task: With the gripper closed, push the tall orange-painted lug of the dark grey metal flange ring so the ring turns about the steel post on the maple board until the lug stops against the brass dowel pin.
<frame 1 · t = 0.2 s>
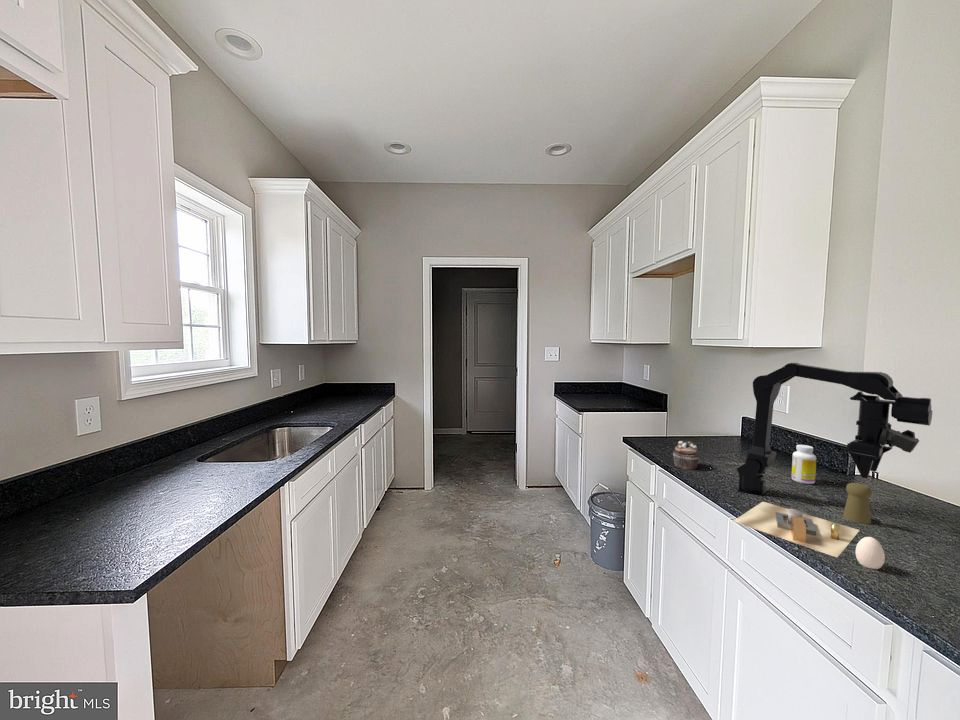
hand: (869, 474, 108), 15 cm above the counter, fingers open, 9 cm apart
dowel pin: (834, 538, 100), resting on board
egg: (868, 570, 89), on the counter
cupcake: (685, 466, 158), on the counter
cork: (856, 523, 111), on the counter
supplement bottle: (802, 481, 142), on the counter
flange: (797, 536, 101), point 1 cm above the counter, touching board
board: (794, 529, 107), on the counter
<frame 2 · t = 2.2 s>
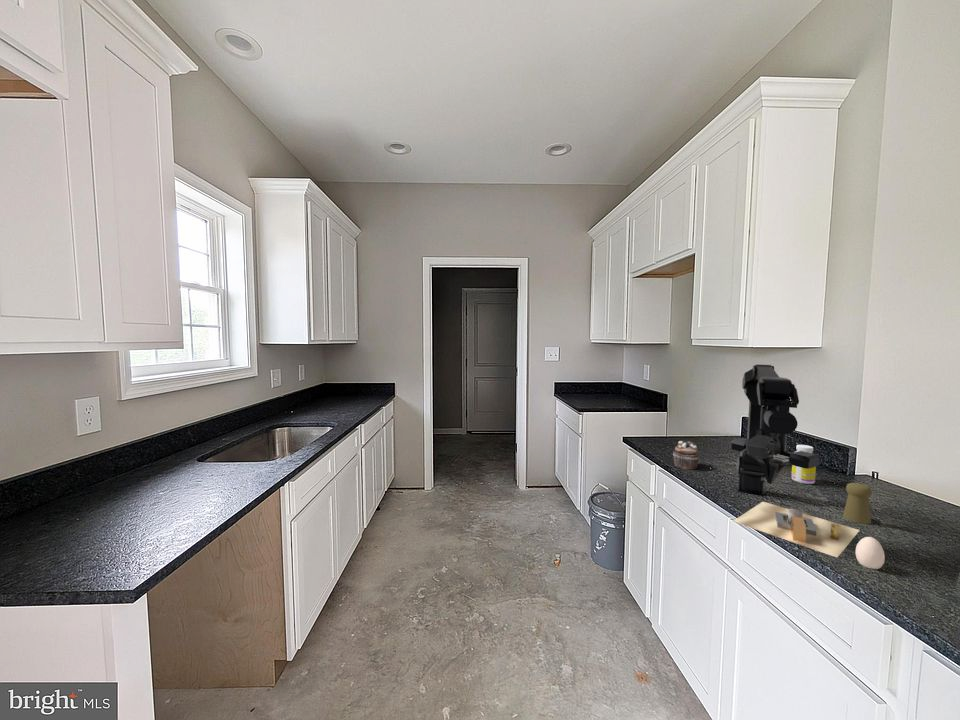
hand: (770, 483, 105), 13 cm above the counter, fingers closed
nothing on the counter moved.
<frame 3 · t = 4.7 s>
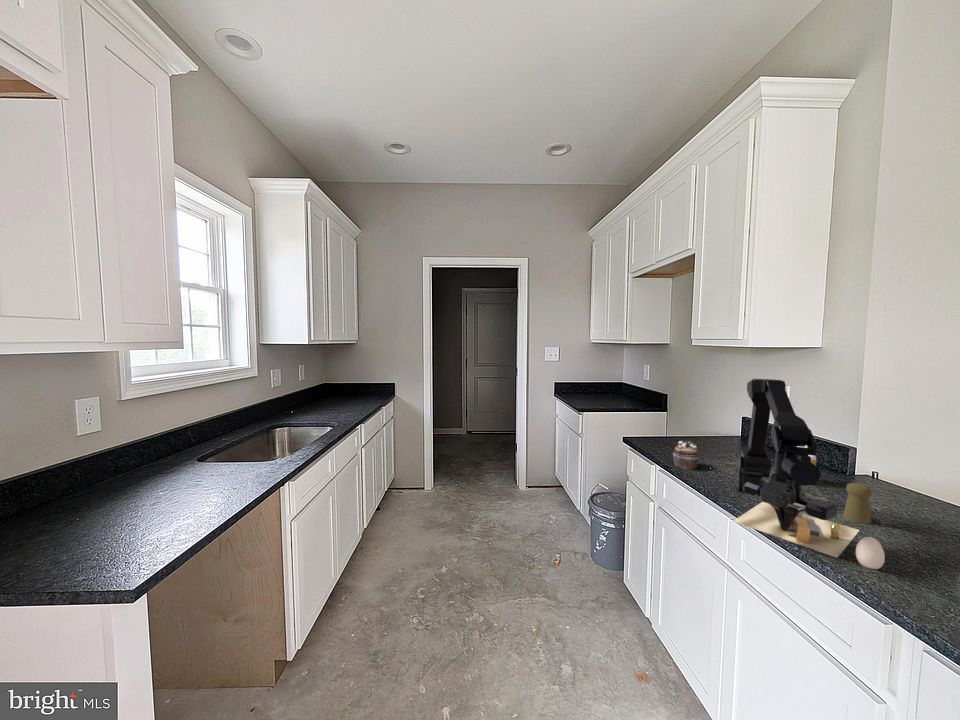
hand: (784, 530, 102), 2 cm above the counter, fingers closed
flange: (800, 537, 100), point 1 cm above the counter, touching gripper
everything else where it was.
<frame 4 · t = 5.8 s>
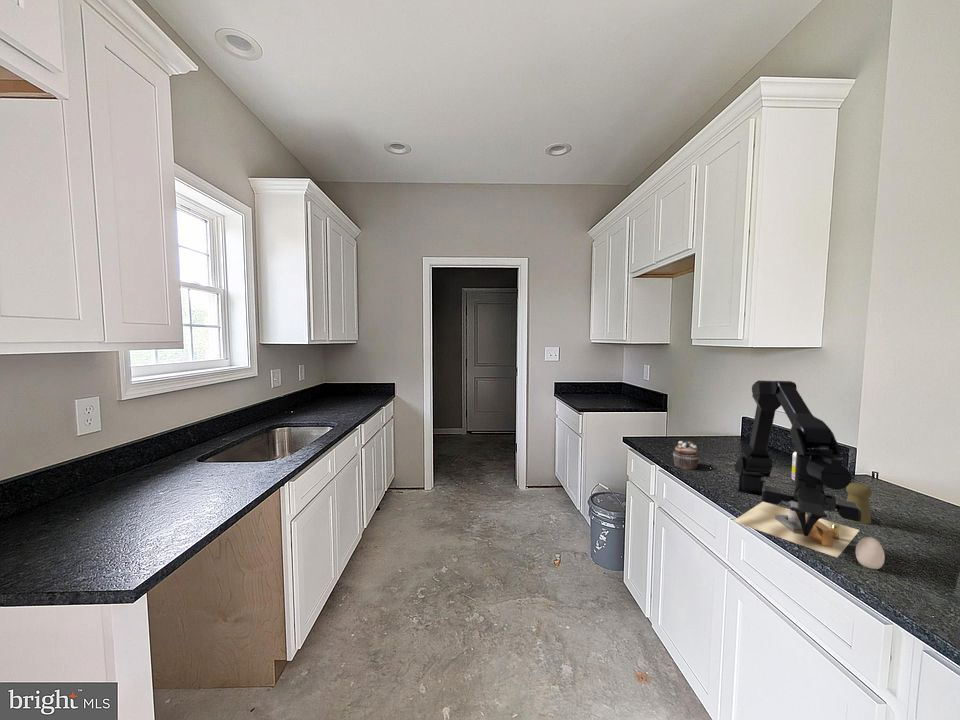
hand: (805, 535, 99), 2 cm above the counter, fingers closed
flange: (818, 539, 99), point 1 cm above the counter, touching board, gripper
everything else where it was.
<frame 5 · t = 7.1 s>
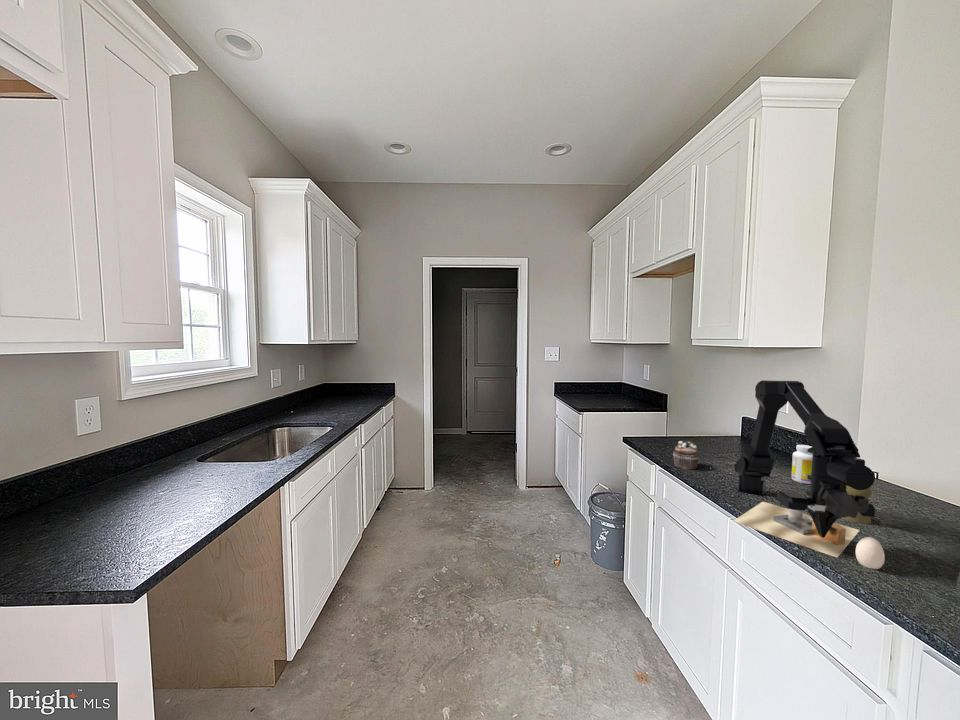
hand: (821, 536, 98), 2 cm above the counter, fingers closed
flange: (827, 538, 100), point 1 cm above the counter, touching board, dowel pin, gripper
everything else where it was.
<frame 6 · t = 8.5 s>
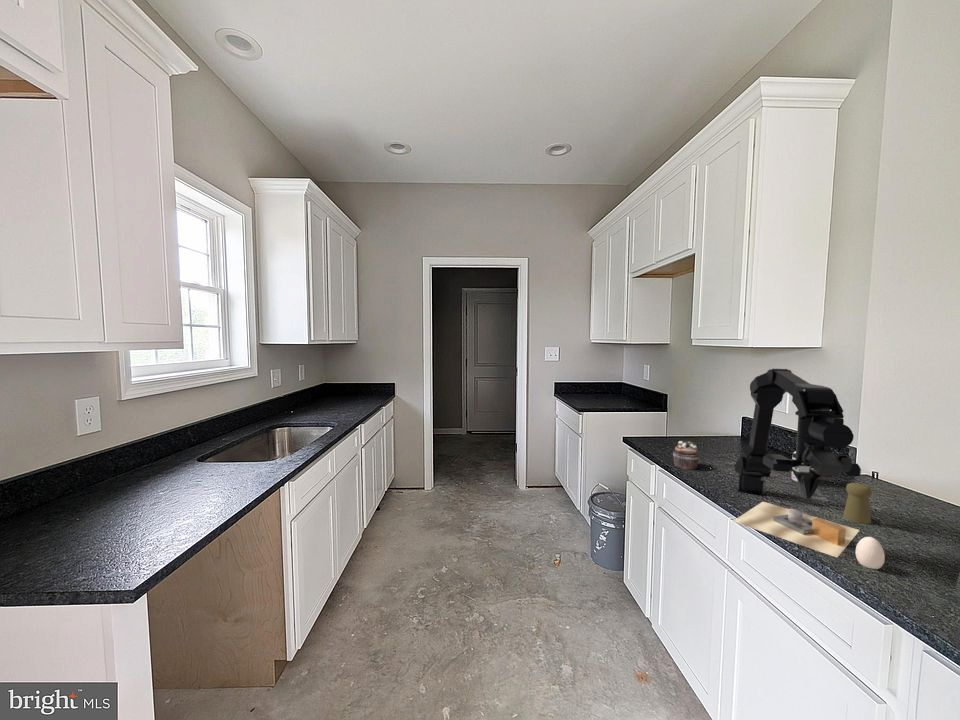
hand: (807, 497, 99), 12 cm above the counter, fingers closed
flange: (827, 538, 100), point 1 cm above the counter, touching board, dowel pin
everything else where it was.
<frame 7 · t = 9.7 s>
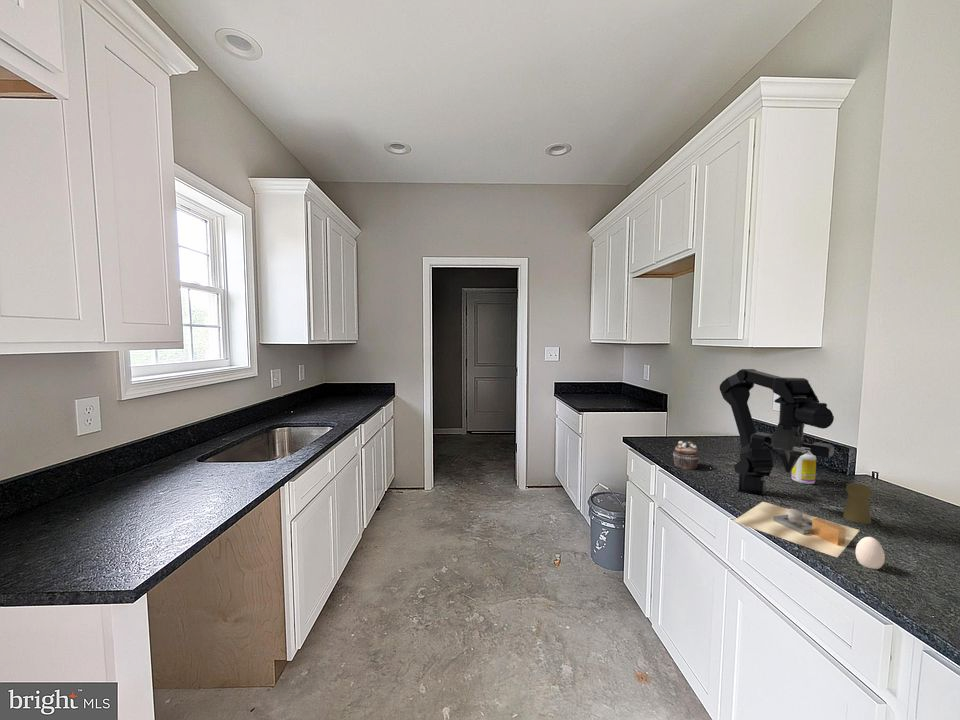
hand: (788, 472, 117), 12 cm above the counter, fingers closed
nothing on the counter moved.
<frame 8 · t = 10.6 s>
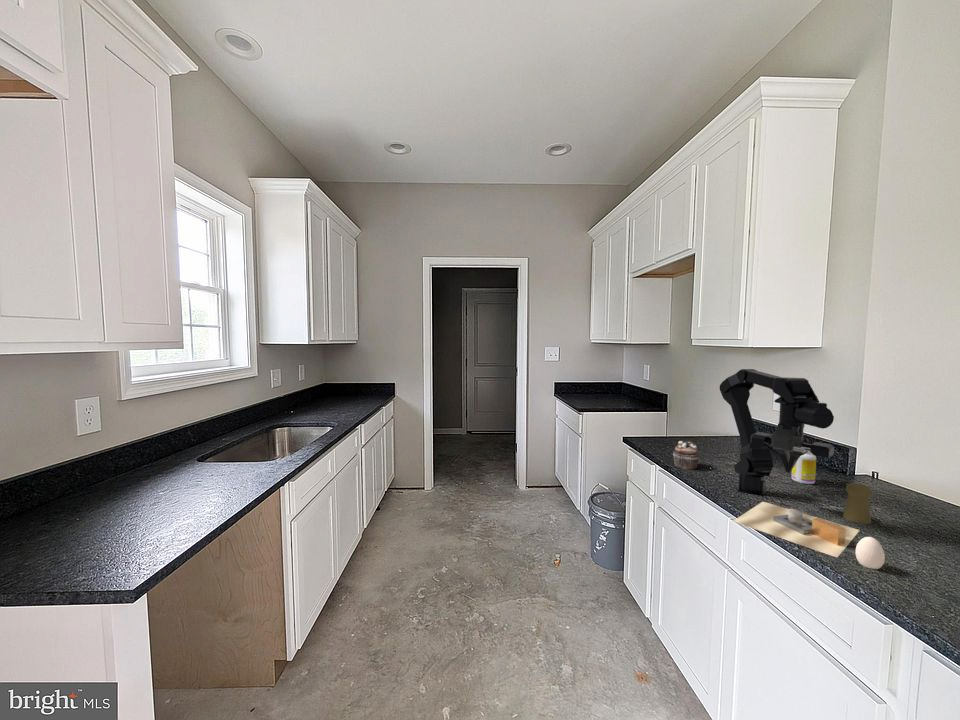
hand: (788, 472, 117), 12 cm above the counter, fingers closed
nothing on the counter moved.
at the end: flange 2.0 cm from the dowel pin (horizontally); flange point 1.0 cm above the counter; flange moved 6.8 cm from its start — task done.
